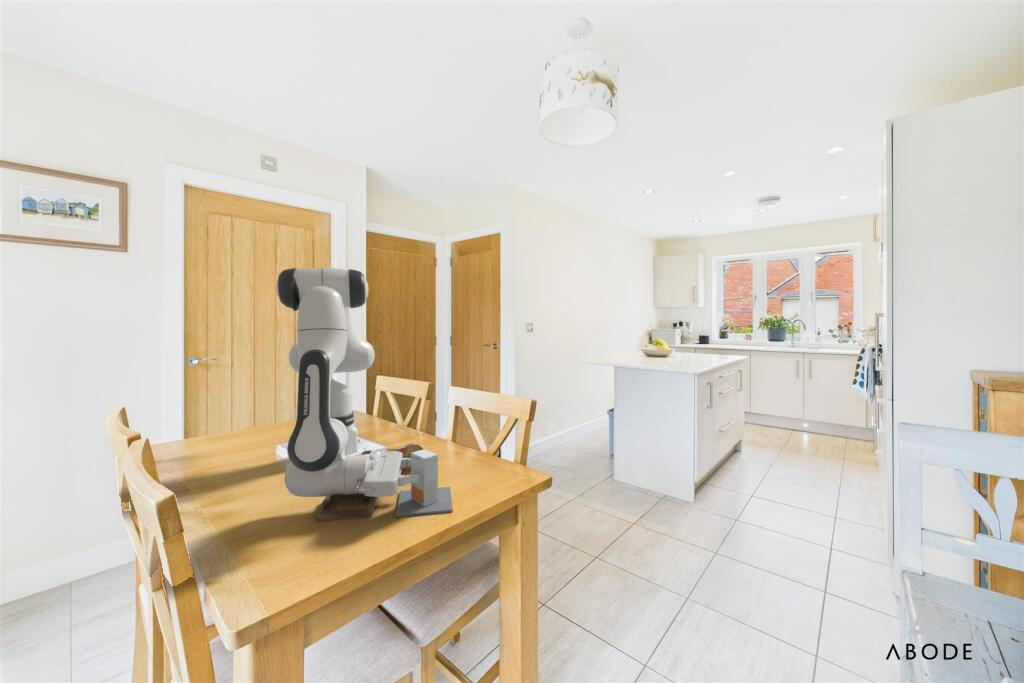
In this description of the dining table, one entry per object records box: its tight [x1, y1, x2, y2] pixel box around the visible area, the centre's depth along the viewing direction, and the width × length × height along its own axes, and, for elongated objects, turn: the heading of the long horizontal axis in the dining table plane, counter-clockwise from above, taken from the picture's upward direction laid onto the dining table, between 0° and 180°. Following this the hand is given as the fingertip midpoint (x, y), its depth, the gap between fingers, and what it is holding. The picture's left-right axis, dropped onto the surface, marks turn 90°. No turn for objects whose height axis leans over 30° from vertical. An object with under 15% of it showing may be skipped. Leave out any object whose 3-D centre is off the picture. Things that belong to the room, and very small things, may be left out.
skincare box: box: [410, 448, 439, 506], centre depth 98 cm, size 6×4×12 cm
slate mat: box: [395, 486, 454, 518], centre depth 98 cm, size 13×13×1 cm
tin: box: [387, 443, 424, 476], centre depth 115 cm, size 15×3×8 cm, turn 139°
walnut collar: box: [315, 493, 378, 522], centre depth 94 cm, size 10×12×2 cm
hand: (419, 469), depth 98 cm, fingers open, 8 cm apart
